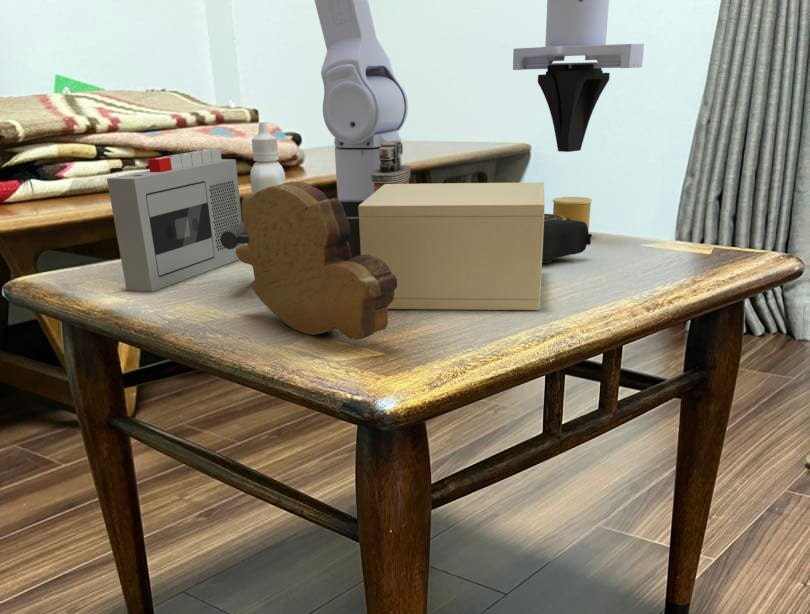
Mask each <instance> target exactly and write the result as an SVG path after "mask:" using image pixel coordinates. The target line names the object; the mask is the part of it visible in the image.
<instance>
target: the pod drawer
mask: <svg viewBox="0 0 810 614" xmlns="http://www.w3.org/2000/svg"><path fill="white" fill-rule="evenodd" d="M339 201H340V202H341V204H342V206H343V208H344V211H345V214H346V217H347V220H348V223H349V227H350V237H349V239H348V240H347V241H348V243H349V245H350V248H351V250H350V252H351V255H352V258H354V257H356V256H360V255H361V250H360V229H359V209H358V206H359V205H360V204H361V203H362V202H364V201H365V200H339ZM221 243H222V245H223V246H224V247H225V248H227V249H234V248H235V247H237V246H238V245H240V244H245V245H246V244H249V236H248V233H247V230H246V228H245V225H244V221H242V223H240V224H238V225H236V226H235V227H233V228H231V229H229V230H227V231H226V232H224V233H223V234H222V235H221Z"/></svg>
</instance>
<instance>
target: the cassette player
mask: <svg viewBox="0 0 810 614" xmlns="http://www.w3.org/2000/svg"><path fill="white" fill-rule="evenodd" d="M147 163H148V168H149V170H145V171H140V172H136V173H129V174H124V175H119V176H113V177H108V178H106V182H107V187H108V193H109V198H110V204H111V210H112V215H113V221H114V227H115V232H116V234H115V235H116V239H117V244H118V249H119V251H118V252H119V256H120V261H121V262H120V263H121V267H122V273H123V279H124V282H125V283H124V284H125V289H126V291H137V292H149V293H153V292H155V291H158V290H161V289H163V288H166V287H169V286H172V285H174V284H177V283H179V282H182V281H185V280H188V279H190V278H193V277H196V276H199V275H201V274H204V273H207V272H209V271H212V270H214V269H217V268H220V267H223V266H225V265H228V264H230V263H231V264H232V263H234V262H236V261H238V260H239V258H238V257H237V255H236V249H237V248H238V247H240V246H243V245H246V244H240V245H238V246H237V247H235V248H234V249H227V248H225V247H224V246H223V245H222V243H221V235H222V234H223V233H224V232H226V231H227V230H229V229H231V228H233V227H235V226H236V225H238V224H240V223H242V222H243V218H242V204H241V196H240V187H239V179H238V178H239V177H238V170H237V160H236V158H235V159H232V158H228V159H227V158H222V152H221V149H220V148H207V149H202V150H197V151H190V152H183V153H178V154H172V155H165V156H160V157H155V158H148V159H147ZM239 261H240V260H239Z"/></svg>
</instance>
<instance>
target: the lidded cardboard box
mask: <svg viewBox="0 0 810 614" xmlns="http://www.w3.org/2000/svg"><path fill="white" fill-rule="evenodd" d="M545 202H546V200H545V183H544V182H457V183H456V182H453V183H452V182H451V183H448V182H447V183H445V182H443V183H440V182H439V183H409V184H384V185H383V186H382V187H381V188H379V189H378V190H377V191H376V192H375V193H373V194H372V195H371V196H370V197H368V198H367V199H366V200H365V201H364V202H362V203H361V204H360V205H359V206H358V209H359V229H360V250H361V255H371V256H373V257H377V258H379V259H380V260H382V261H383V262H384V263H386V264H387V265H388V267H389V268H390V270H391V272H392V274H394V275H395V277H396V279H397V288H396V289H395V292H394V299H393V301H392V303H390V304H389V305H388V308H387V309H388V310H451V311H452V310H455V311H456V310H460V311H461V310H462V311H465V310H466V311H467V310H468V311H469V310H471V311H473V310H474V311H540V309H541V291H542V290H541V288H542V287H541V286H542V270H543V269H542V268H543V262H542V250H543V230H544V214H545V208H546V203H545Z"/></svg>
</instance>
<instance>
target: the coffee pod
mask: <svg viewBox="0 0 810 614" xmlns="http://www.w3.org/2000/svg"><path fill="white" fill-rule="evenodd" d="M552 202H553V205H552V206H553V210H552V214H555V215H561V216H565V217H567V218H569V219H571V220H575V221H582V222H585V223H586V224H587V227H588V231H590V220H591V218H590V217H591V204H592V202H593V199H592V198H590V197H584V196H562V197H560V196H559V197H555V198H553V199H552ZM588 233H589V232H588ZM589 234H590V233H589Z"/></svg>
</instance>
